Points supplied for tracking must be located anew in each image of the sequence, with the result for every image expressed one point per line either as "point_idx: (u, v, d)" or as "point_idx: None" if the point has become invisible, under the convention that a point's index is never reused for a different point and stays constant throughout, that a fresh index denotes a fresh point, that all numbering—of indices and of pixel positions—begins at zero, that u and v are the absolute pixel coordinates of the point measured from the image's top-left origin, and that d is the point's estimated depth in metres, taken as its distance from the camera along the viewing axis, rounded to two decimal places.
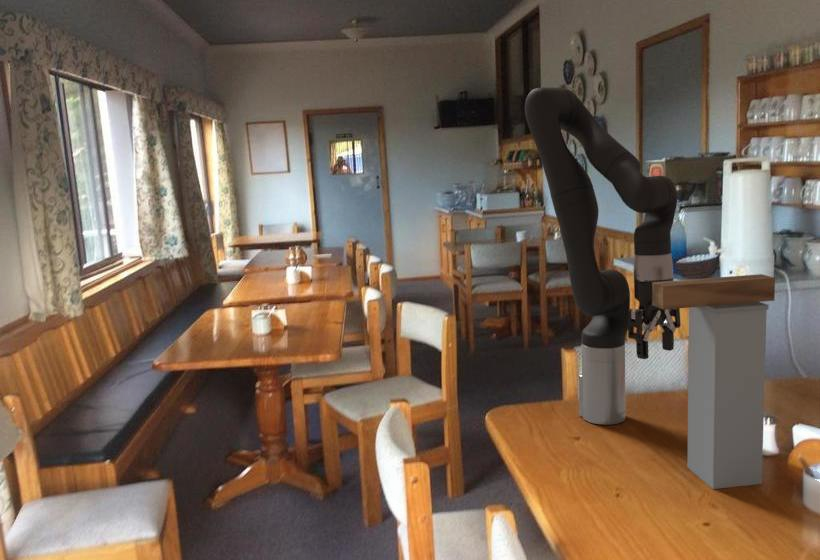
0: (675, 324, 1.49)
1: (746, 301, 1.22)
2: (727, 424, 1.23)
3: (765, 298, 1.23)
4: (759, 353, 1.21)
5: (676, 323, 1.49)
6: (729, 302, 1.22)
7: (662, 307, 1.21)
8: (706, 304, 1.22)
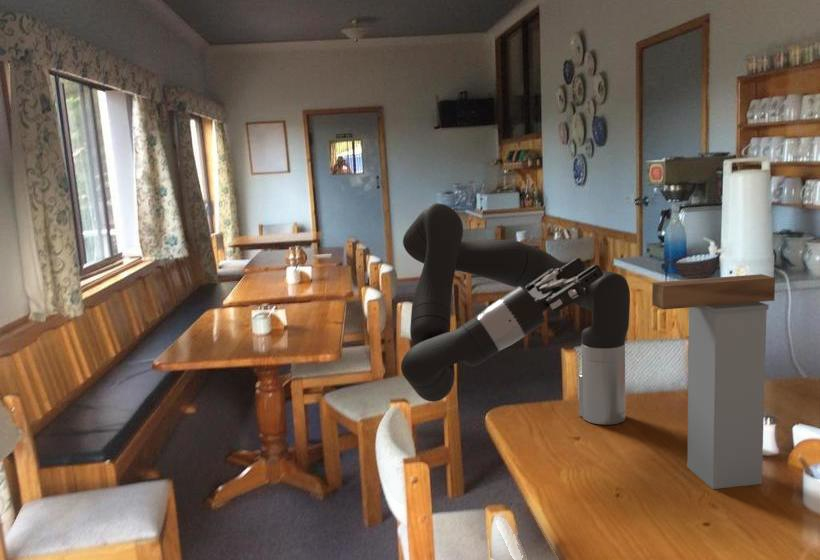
0: None
1: (746, 301, 1.22)
2: (727, 424, 1.23)
3: (765, 298, 1.23)
4: (759, 353, 1.21)
5: None
6: (729, 302, 1.22)
7: (662, 307, 1.21)
8: (706, 304, 1.22)
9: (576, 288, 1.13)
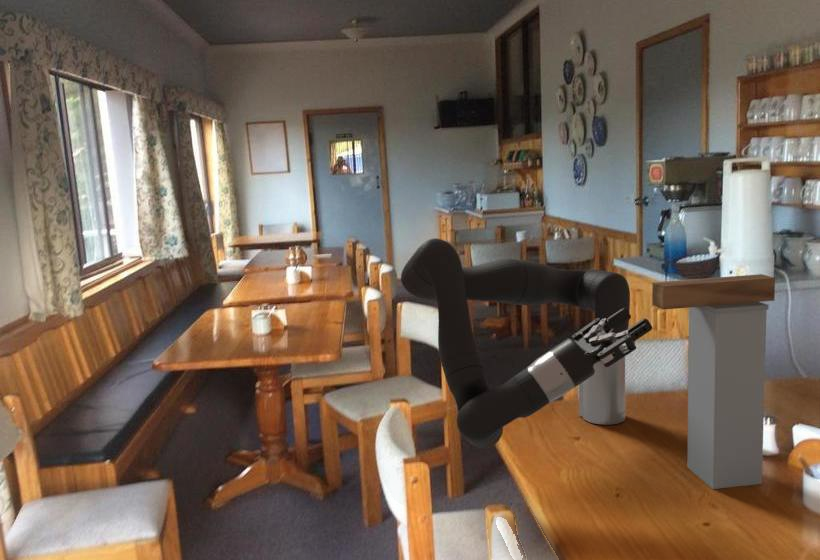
0: None
1: (746, 301, 1.22)
2: (727, 424, 1.23)
3: (765, 298, 1.23)
4: (759, 353, 1.21)
5: None
6: (729, 302, 1.22)
7: (662, 307, 1.21)
8: (706, 304, 1.22)
9: (627, 343, 1.16)
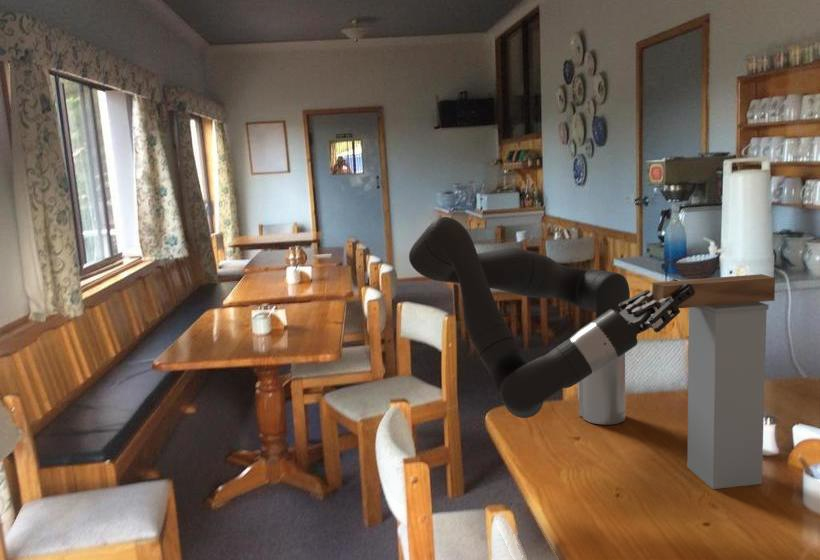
0: None
1: (746, 301, 1.22)
2: (727, 424, 1.23)
3: (765, 298, 1.23)
4: (759, 353, 1.21)
5: None
6: (729, 302, 1.22)
7: None
8: (706, 304, 1.22)
9: (671, 307, 1.18)
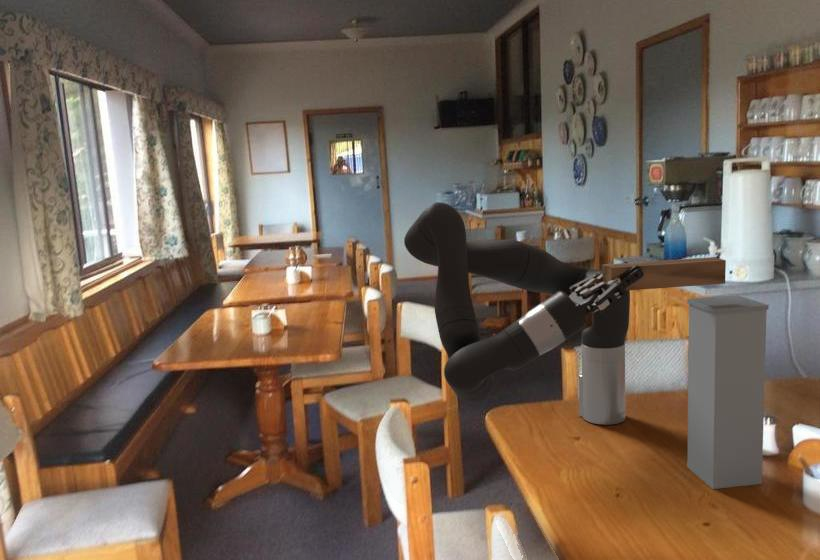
0: None
1: (696, 284, 1.21)
2: (727, 424, 1.23)
3: (716, 281, 1.21)
4: (759, 353, 1.21)
5: None
6: (679, 285, 1.20)
7: None
8: (655, 286, 1.20)
9: (618, 288, 1.16)
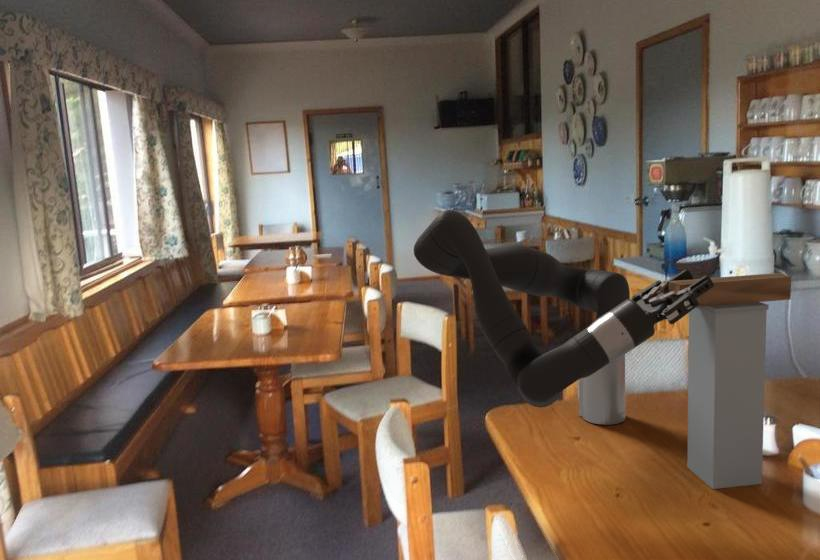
0: None
1: (762, 300, 1.23)
2: (727, 424, 1.23)
3: (782, 297, 1.23)
4: (759, 353, 1.21)
5: None
6: (745, 301, 1.22)
7: None
8: (722, 303, 1.22)
9: (690, 299, 1.17)
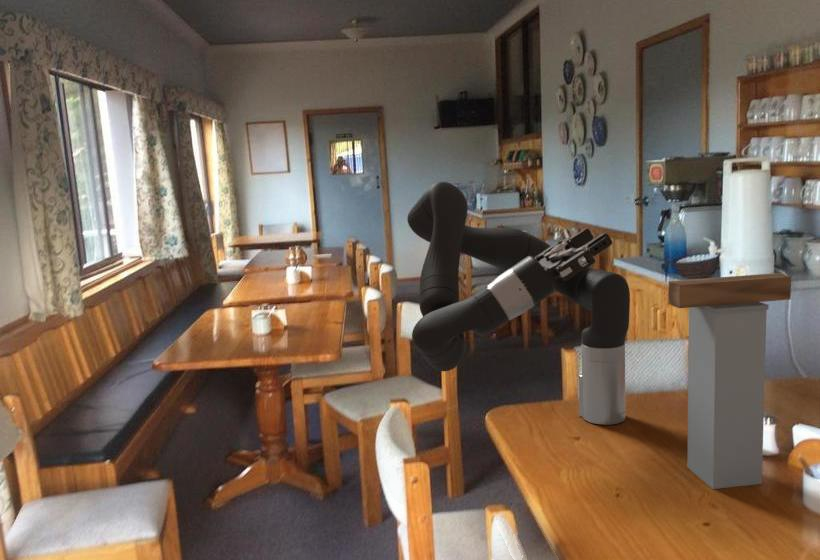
0: None
1: (762, 300, 1.23)
2: (727, 424, 1.23)
3: (782, 297, 1.23)
4: (759, 353, 1.21)
5: None
6: (745, 301, 1.22)
7: (678, 306, 1.21)
8: (722, 303, 1.22)
9: (586, 256, 1.14)
